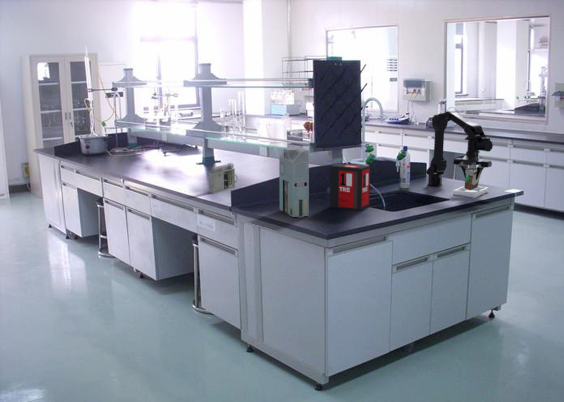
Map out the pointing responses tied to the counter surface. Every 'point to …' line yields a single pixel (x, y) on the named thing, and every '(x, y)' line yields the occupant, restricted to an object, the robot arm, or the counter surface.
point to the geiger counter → (222, 178)
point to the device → (294, 181)
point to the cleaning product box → (349, 186)
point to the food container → (471, 179)
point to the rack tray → (470, 192)
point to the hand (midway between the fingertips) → (471, 178)
